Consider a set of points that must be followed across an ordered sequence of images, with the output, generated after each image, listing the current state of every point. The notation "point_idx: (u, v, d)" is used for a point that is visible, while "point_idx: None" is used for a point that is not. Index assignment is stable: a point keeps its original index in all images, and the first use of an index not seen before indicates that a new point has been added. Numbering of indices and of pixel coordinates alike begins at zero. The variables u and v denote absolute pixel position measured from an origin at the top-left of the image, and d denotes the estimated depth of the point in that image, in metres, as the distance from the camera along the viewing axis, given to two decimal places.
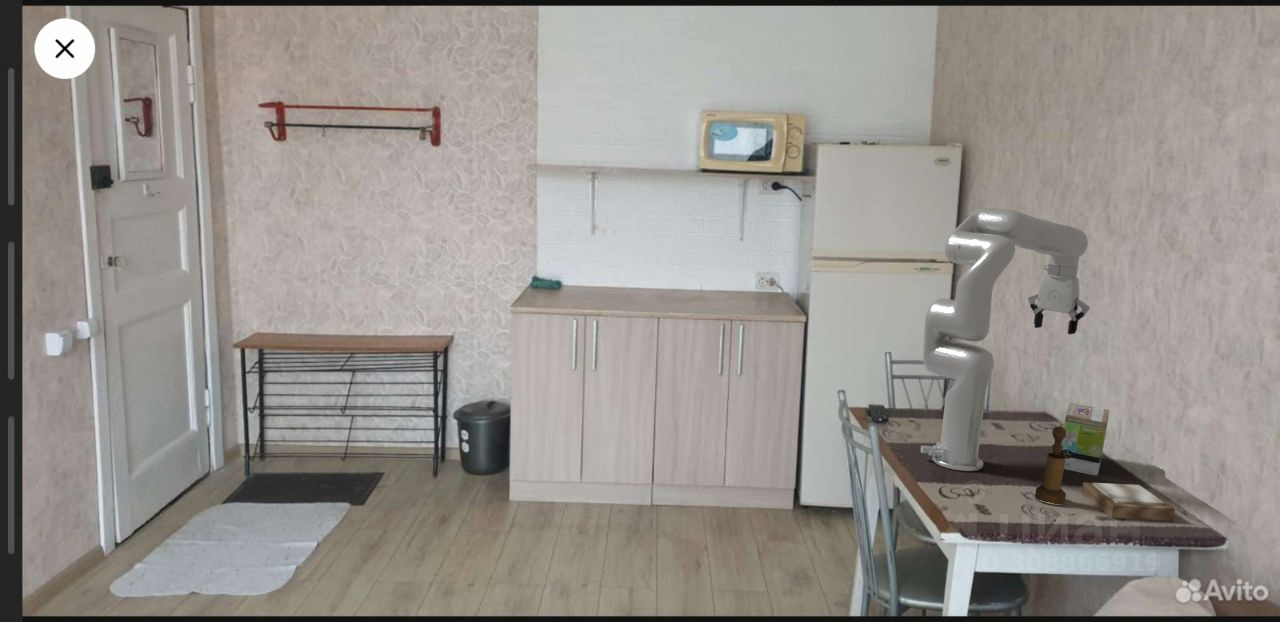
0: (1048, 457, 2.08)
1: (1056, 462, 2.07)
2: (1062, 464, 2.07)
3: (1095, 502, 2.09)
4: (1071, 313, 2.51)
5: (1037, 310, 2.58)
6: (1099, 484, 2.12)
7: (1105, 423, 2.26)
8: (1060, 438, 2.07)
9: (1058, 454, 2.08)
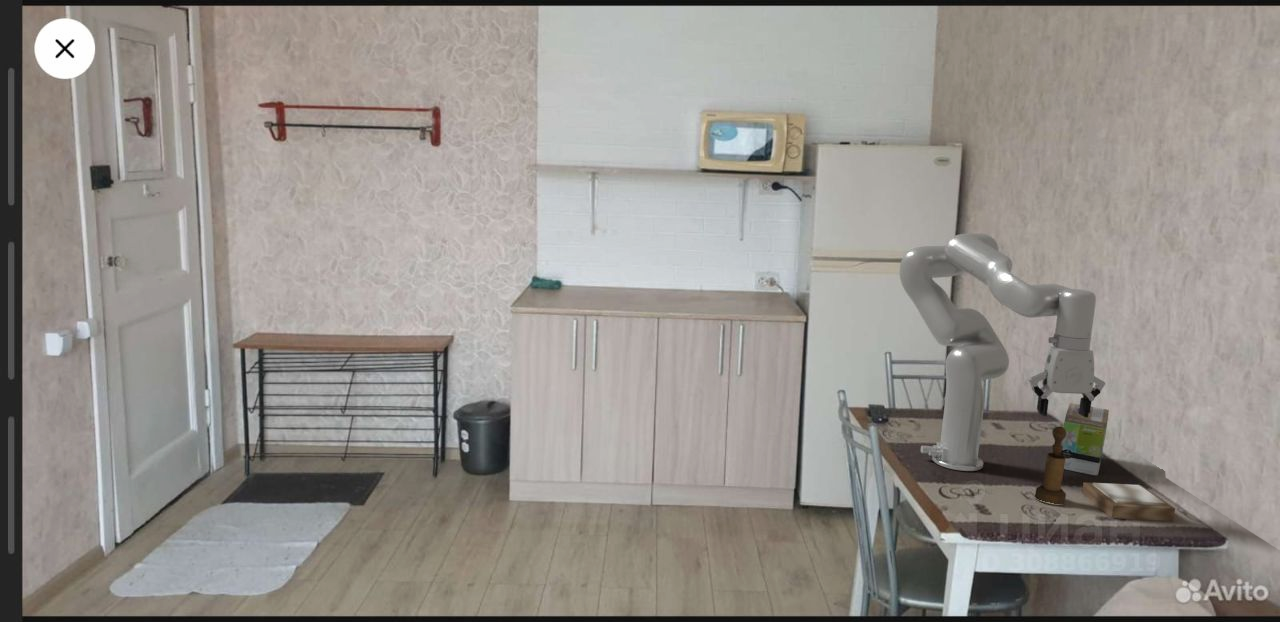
0: (1048, 457, 2.08)
1: (1056, 462, 2.07)
2: (1062, 464, 2.07)
3: (1095, 502, 2.09)
4: (1088, 392, 2.05)
5: (1046, 394, 2.05)
6: (1099, 484, 2.12)
7: (1105, 423, 2.26)
8: (1060, 438, 2.07)
9: (1058, 454, 2.08)
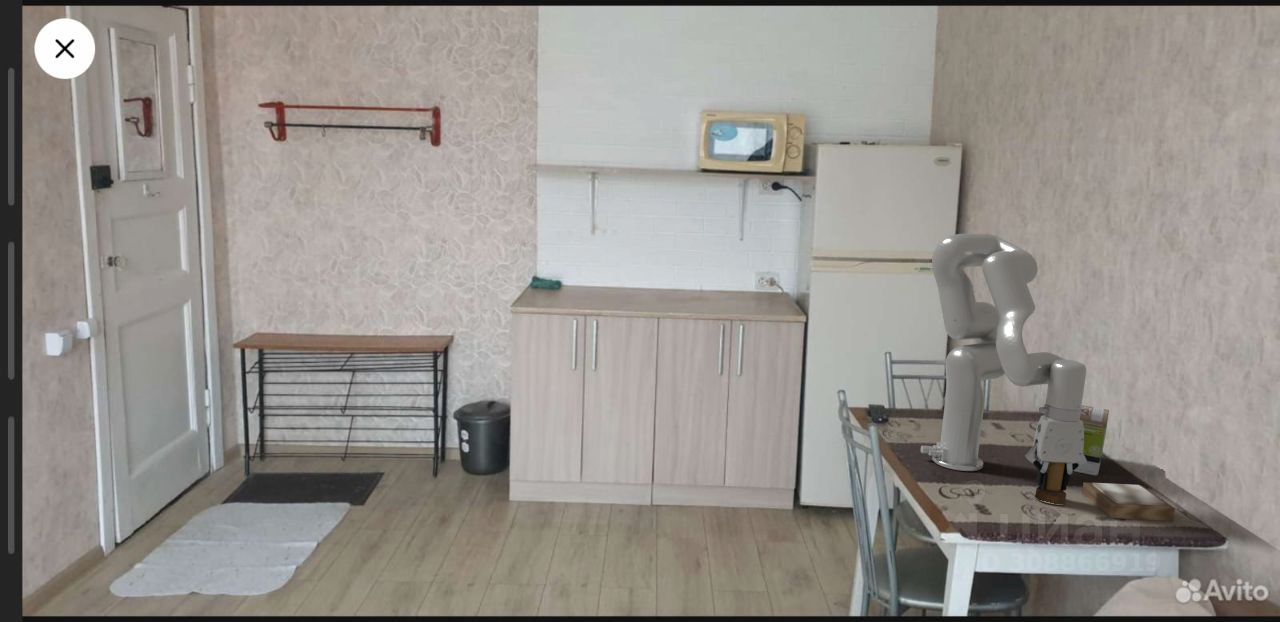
0: None
1: None
2: (1062, 464, 2.07)
3: (1095, 502, 2.09)
4: (1070, 465, 2.08)
5: (1044, 467, 2.08)
6: (1099, 484, 2.12)
7: (1105, 423, 2.26)
8: None
9: None
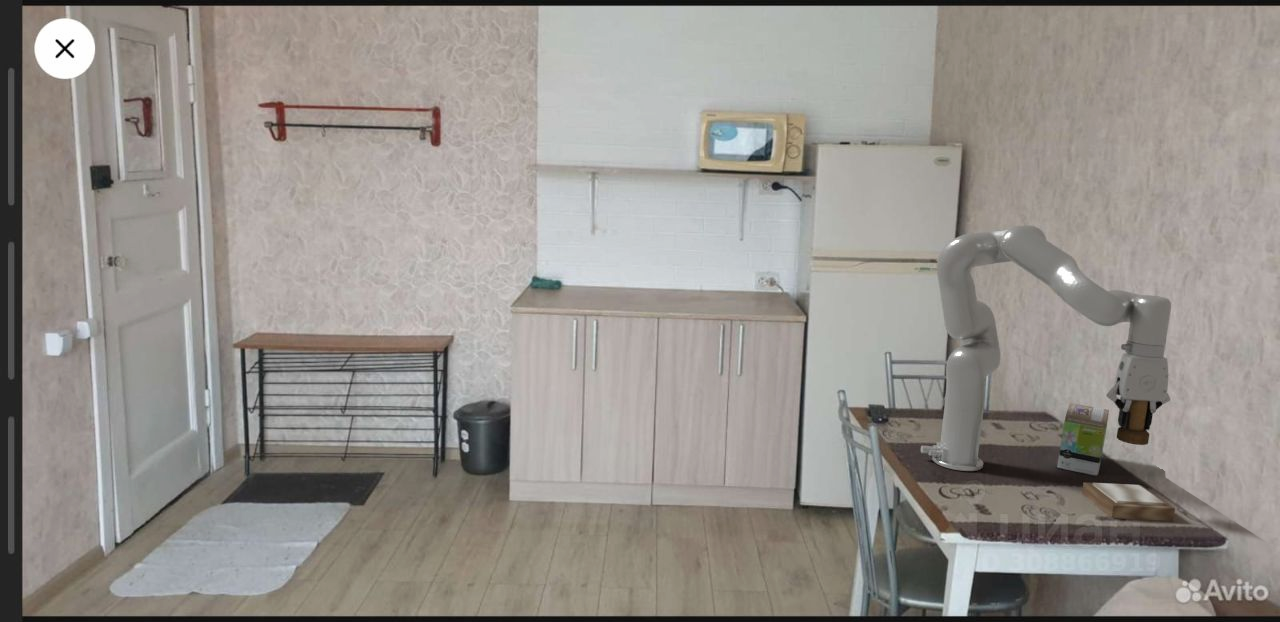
0: None
1: None
2: (1146, 402, 2.02)
3: (1095, 502, 2.09)
4: (1153, 403, 2.03)
5: (1127, 406, 2.03)
6: (1099, 484, 2.12)
7: (1105, 423, 2.26)
8: None
9: None
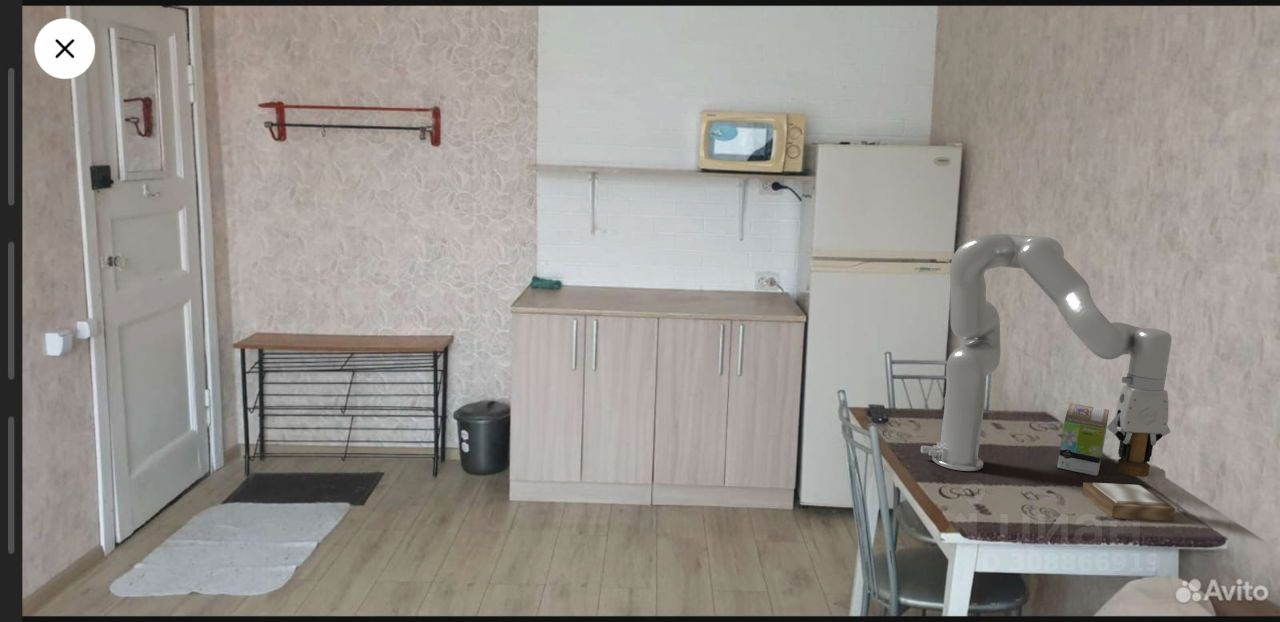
0: None
1: (1140, 433, 2.03)
2: (1146, 435, 2.03)
3: (1095, 502, 2.09)
4: (1154, 436, 2.04)
5: (1127, 438, 2.04)
6: (1099, 484, 2.12)
7: (1105, 423, 2.26)
8: None
9: None
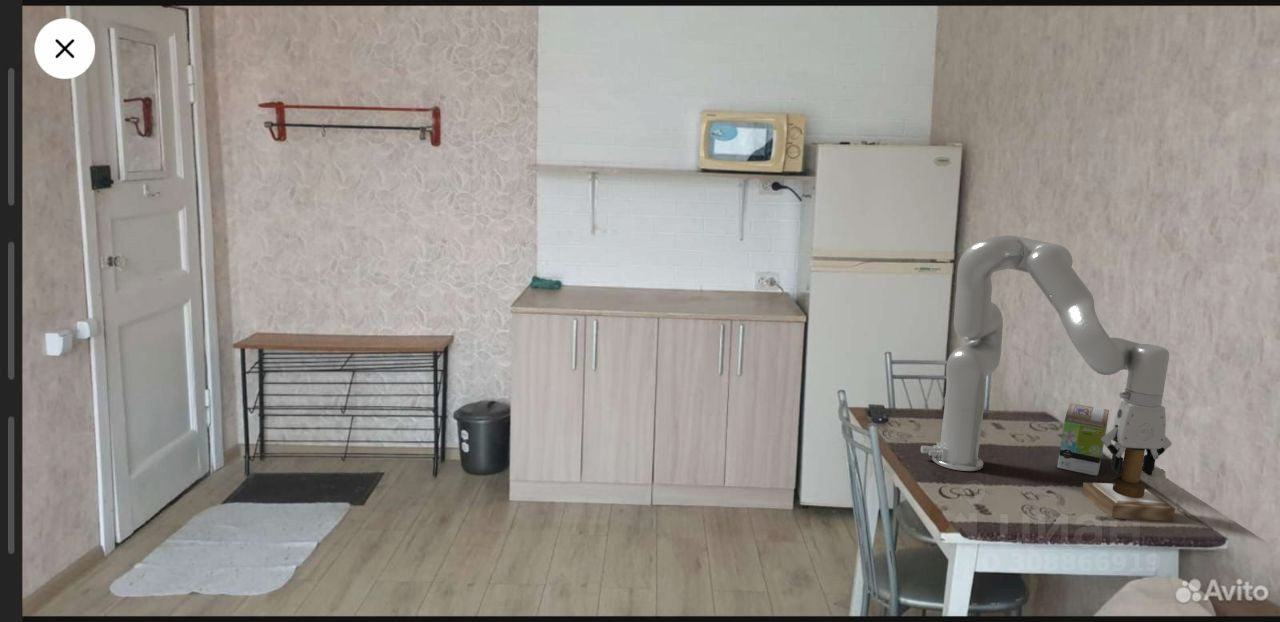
0: (1127, 448, 2.06)
1: (1135, 453, 2.04)
2: (1142, 455, 2.05)
3: (1095, 502, 2.09)
4: (1155, 450, 2.05)
5: (1120, 452, 2.05)
6: (1099, 484, 2.12)
7: (1105, 423, 2.26)
8: None
9: None
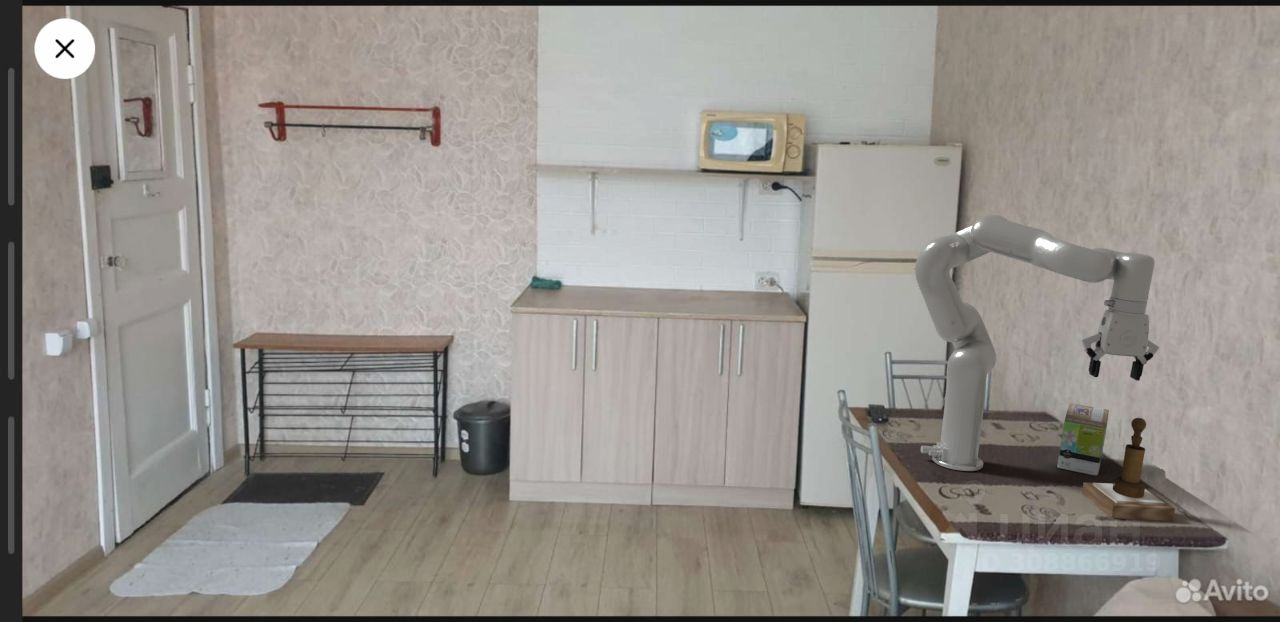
0: (1127, 448, 2.06)
1: (1136, 453, 2.04)
2: (1142, 456, 2.05)
3: (1095, 502, 2.09)
4: (1141, 356, 2.08)
5: (1099, 356, 2.08)
6: (1099, 484, 2.12)
7: (1105, 423, 2.26)
8: (1140, 429, 2.04)
9: (1137, 445, 2.05)
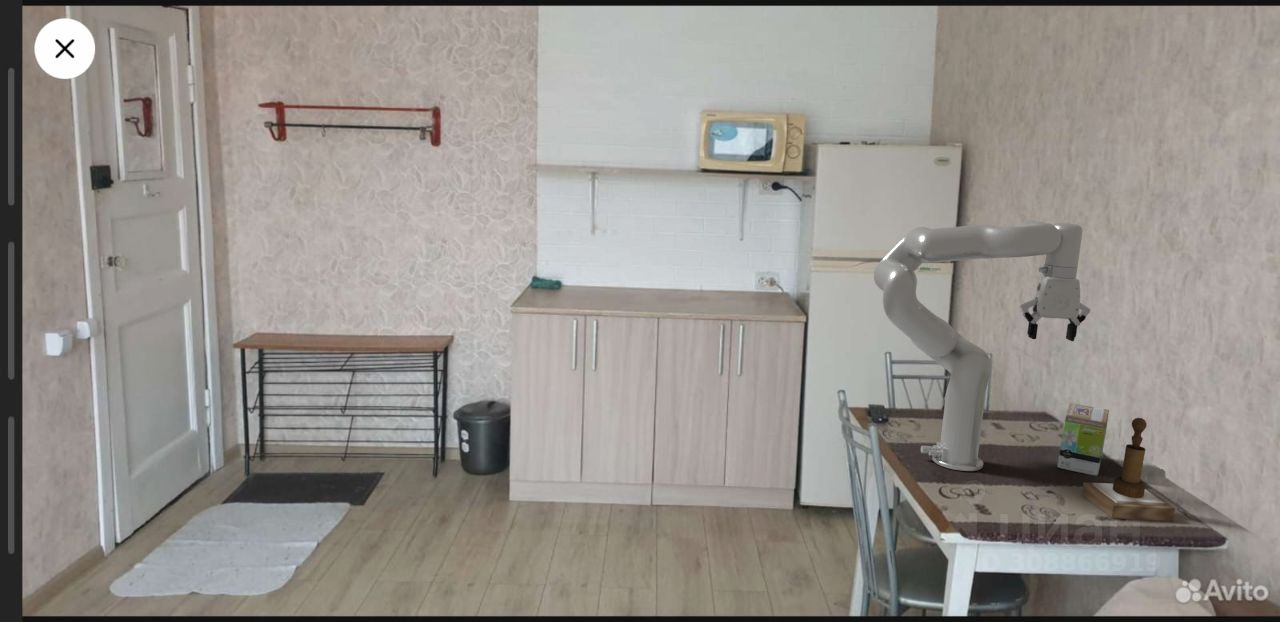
0: (1127, 449, 2.06)
1: (1136, 454, 2.04)
2: (1142, 456, 2.05)
3: (1095, 502, 2.09)
4: (1075, 318, 2.25)
5: (1036, 319, 2.25)
6: (1099, 484, 2.12)
7: (1105, 423, 2.26)
8: (1140, 429, 2.04)
9: (1138, 446, 2.05)
